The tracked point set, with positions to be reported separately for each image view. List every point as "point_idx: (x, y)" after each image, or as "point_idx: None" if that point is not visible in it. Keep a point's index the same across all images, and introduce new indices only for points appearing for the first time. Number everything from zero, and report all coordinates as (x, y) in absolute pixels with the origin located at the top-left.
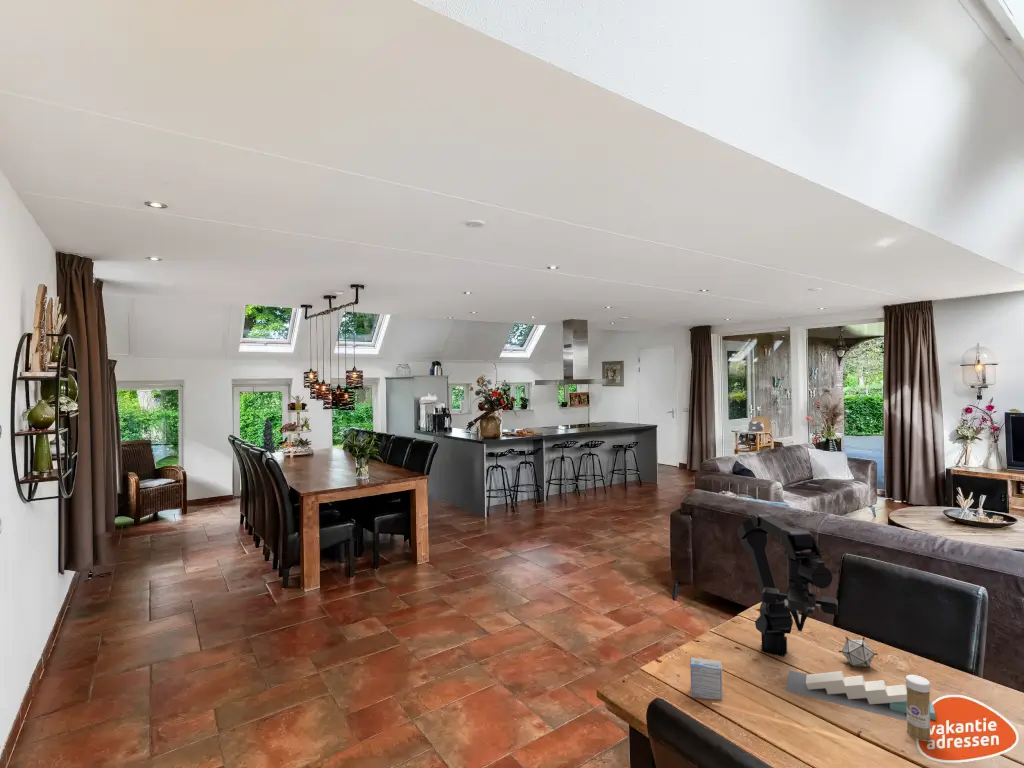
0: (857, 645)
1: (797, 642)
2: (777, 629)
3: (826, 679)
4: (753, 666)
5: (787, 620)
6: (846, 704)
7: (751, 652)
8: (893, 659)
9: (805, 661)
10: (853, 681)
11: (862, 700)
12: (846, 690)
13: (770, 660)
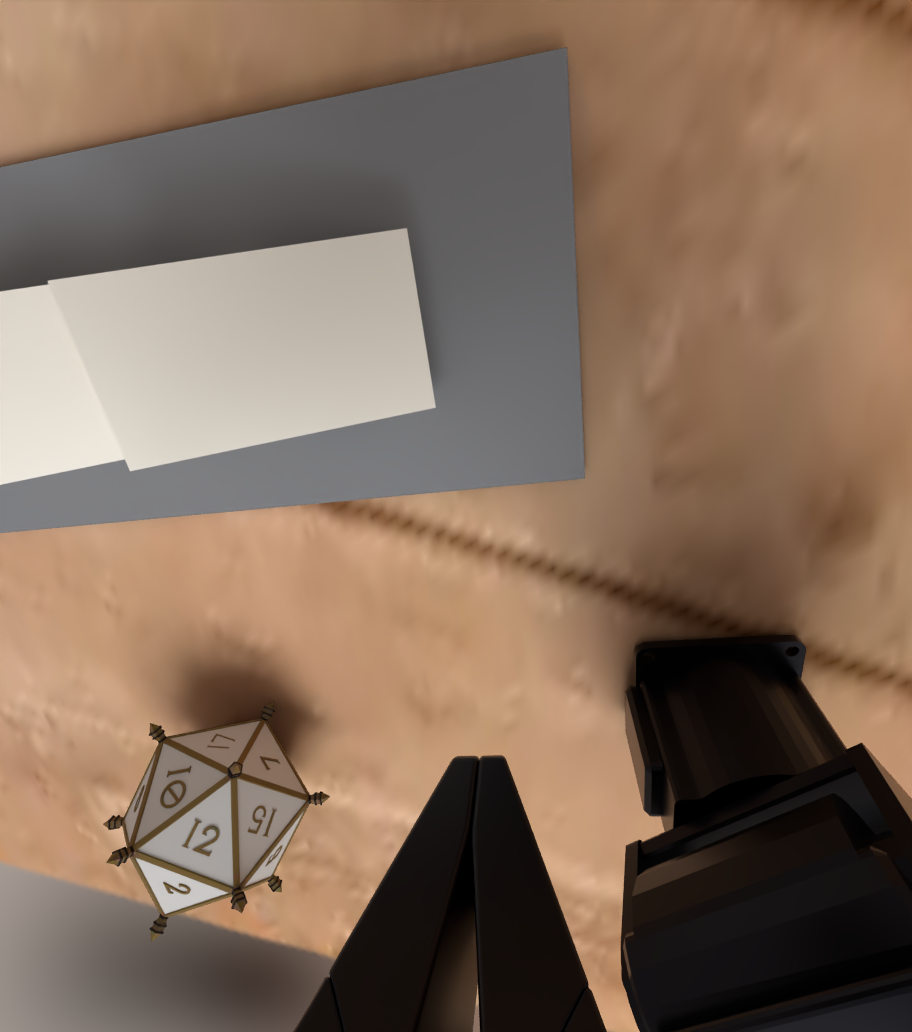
0: (166, 847)
1: (579, 837)
2: (760, 827)
3: (225, 302)
4: (866, 406)
5: (684, 971)
6: (99, 171)
7: (870, 616)
8: None
9: (505, 667)
10: (29, 375)
11: None
12: None
13: (725, 572)
